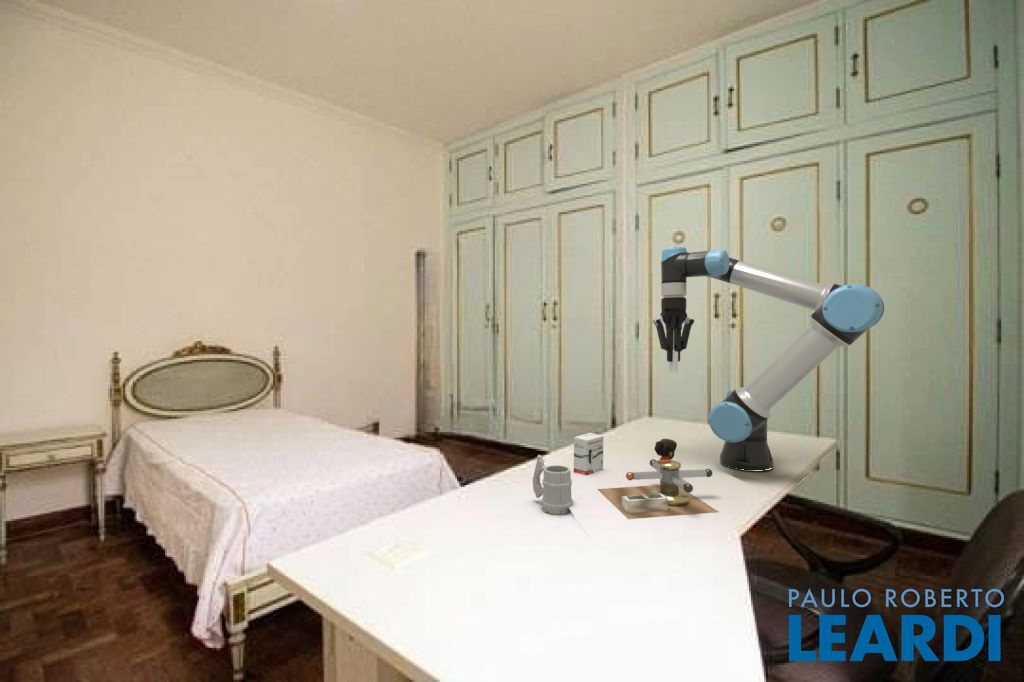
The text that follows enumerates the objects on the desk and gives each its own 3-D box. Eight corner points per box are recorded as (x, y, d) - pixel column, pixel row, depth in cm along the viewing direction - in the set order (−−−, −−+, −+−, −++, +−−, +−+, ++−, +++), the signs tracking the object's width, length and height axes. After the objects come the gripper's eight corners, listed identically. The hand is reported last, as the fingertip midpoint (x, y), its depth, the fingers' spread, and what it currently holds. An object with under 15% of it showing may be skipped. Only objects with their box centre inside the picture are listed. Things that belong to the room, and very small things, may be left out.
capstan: (612, 484, 129) (612, 450, 129) (691, 481, 131) (691, 447, 131) (642, 517, 107) (642, 475, 107) (736, 512, 110) (737, 472, 109)
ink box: (586, 480, 138) (586, 439, 138) (573, 477, 142) (572, 436, 142) (604, 474, 144) (604, 434, 144) (590, 470, 148) (590, 432, 147)
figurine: (672, 486, 133) (672, 442, 133) (652, 482, 137) (652, 439, 136) (680, 480, 138) (680, 438, 138) (660, 476, 142) (660, 435, 141)
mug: (558, 518, 112) (558, 466, 111) (522, 504, 120) (522, 456, 120) (579, 509, 117) (579, 460, 116) (544, 497, 126) (543, 451, 125)
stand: (675, 489, 130) (675, 468, 130) (719, 518, 111) (719, 493, 111) (597, 494, 127) (597, 472, 127) (628, 525, 107) (628, 499, 107)
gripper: (686, 297, 157) (686, 370, 158) (648, 297, 155) (648, 371, 156) (699, 296, 150) (699, 372, 150) (659, 296, 148) (659, 373, 148)
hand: (673, 372), depth 153 cm, fingers closed
